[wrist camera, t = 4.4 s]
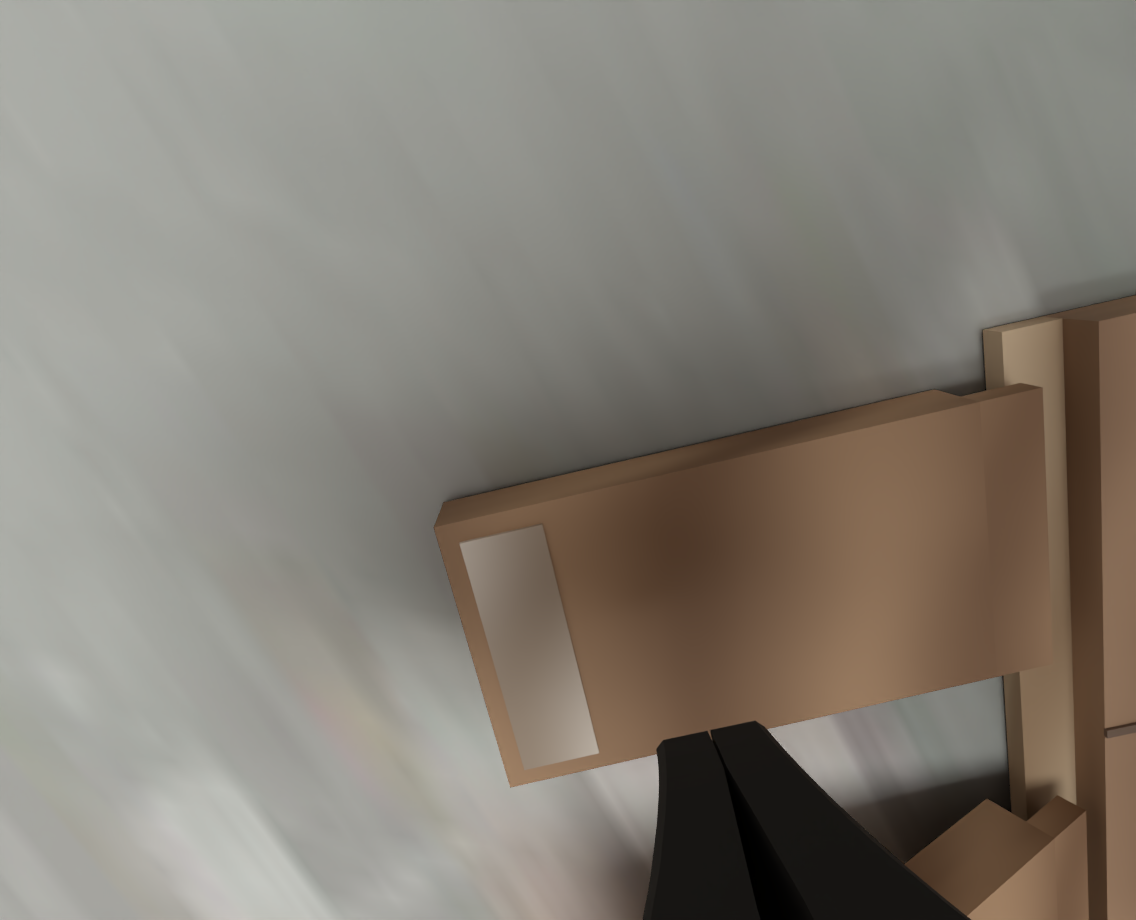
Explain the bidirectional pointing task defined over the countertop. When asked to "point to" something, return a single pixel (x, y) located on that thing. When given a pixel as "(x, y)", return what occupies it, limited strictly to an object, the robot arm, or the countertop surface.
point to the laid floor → (1082, 586)
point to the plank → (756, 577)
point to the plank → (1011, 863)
